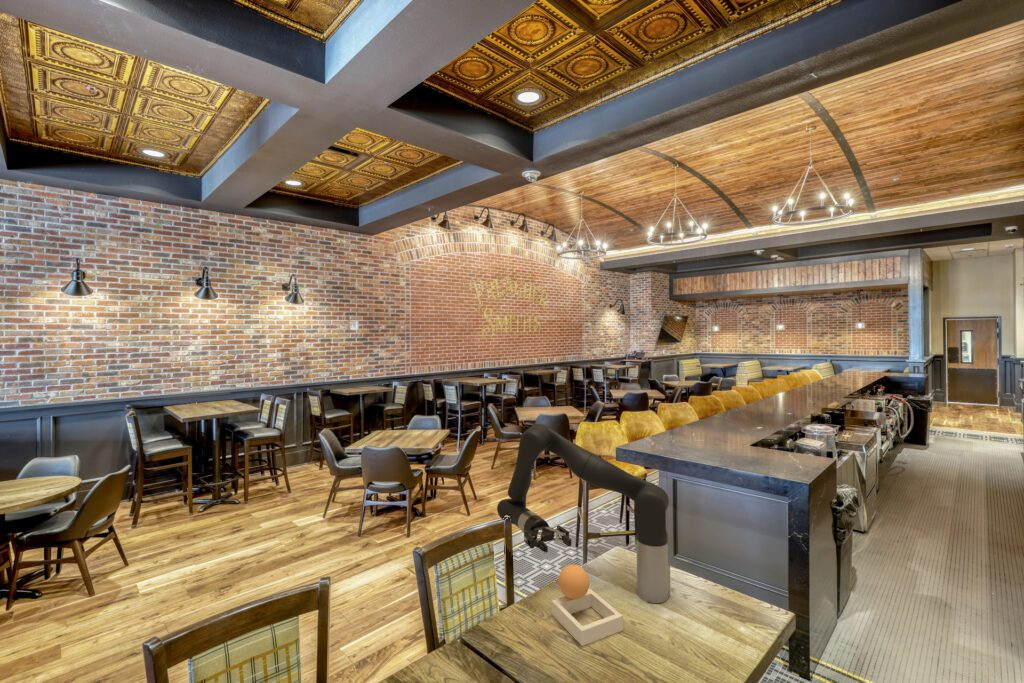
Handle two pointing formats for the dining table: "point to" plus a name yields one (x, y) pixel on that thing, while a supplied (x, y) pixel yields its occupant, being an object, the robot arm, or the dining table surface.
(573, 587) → the ball
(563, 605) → the white square frame
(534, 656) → the dining table surface
